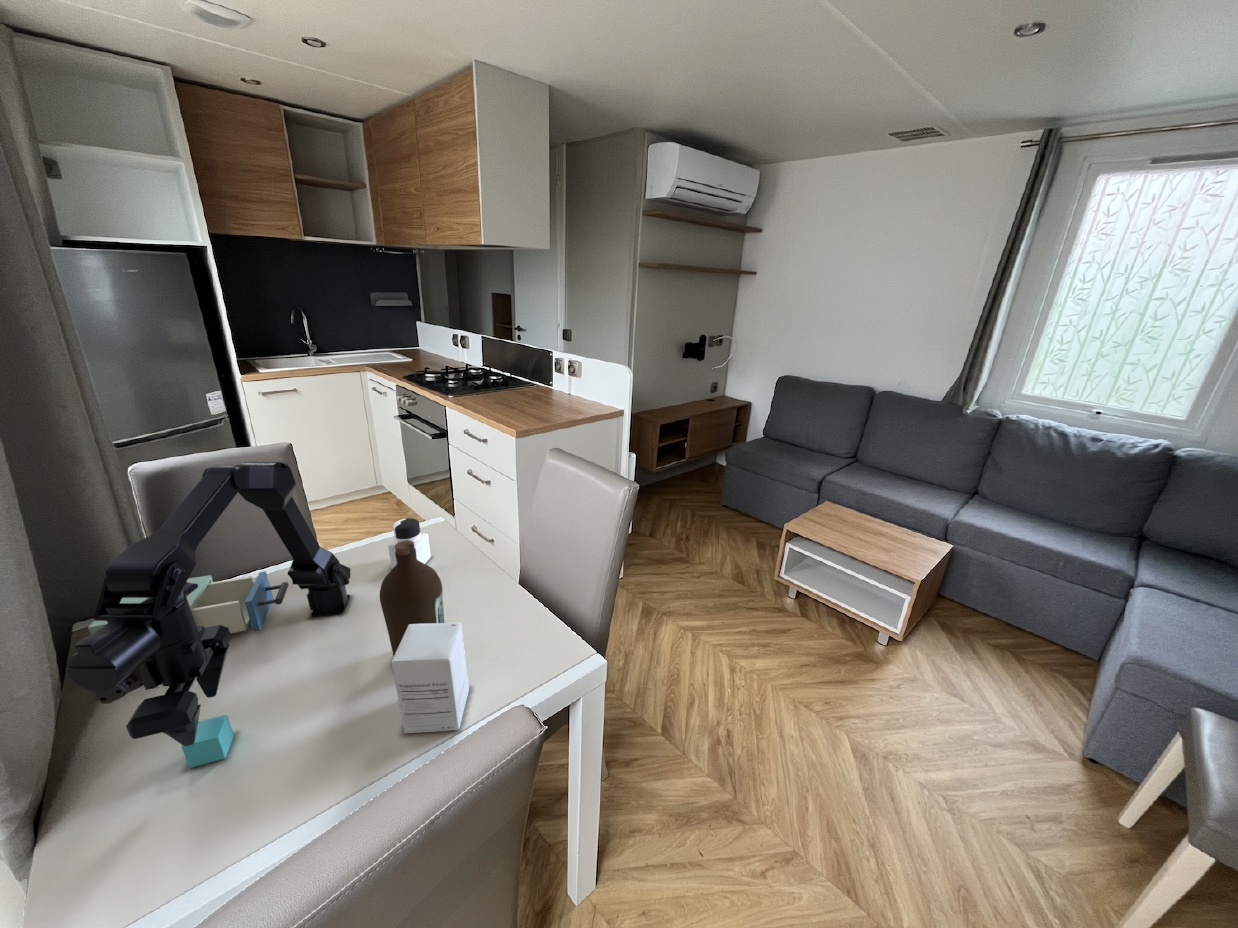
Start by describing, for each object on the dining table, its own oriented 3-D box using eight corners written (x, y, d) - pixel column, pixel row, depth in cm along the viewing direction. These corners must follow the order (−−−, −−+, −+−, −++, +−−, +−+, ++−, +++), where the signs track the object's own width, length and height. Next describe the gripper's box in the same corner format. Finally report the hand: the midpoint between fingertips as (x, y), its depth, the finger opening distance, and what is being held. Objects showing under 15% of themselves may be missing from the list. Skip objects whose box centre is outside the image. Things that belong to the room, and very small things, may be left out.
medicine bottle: (431, 557, 130) (426, 516, 126) (418, 572, 123) (412, 529, 119) (405, 555, 130) (399, 514, 126) (391, 569, 124) (384, 527, 120)
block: (234, 735, 79) (227, 714, 77) (225, 758, 75) (217, 737, 73) (200, 743, 77) (192, 722, 76) (189, 768, 73) (181, 746, 72)
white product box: (418, 690, 88) (408, 622, 83) (470, 688, 89) (462, 620, 83) (402, 734, 79) (389, 661, 74) (459, 731, 80) (450, 658, 75)
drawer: (295, 595, 112) (288, 567, 109) (284, 626, 102) (276, 596, 99) (199, 612, 106) (189, 583, 103) (177, 647, 96) (166, 616, 93)
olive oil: (389, 683, 89) (368, 564, 81) (393, 645, 99) (374, 534, 90) (451, 669, 93) (436, 554, 84) (449, 633, 102) (435, 526, 93)
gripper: (128, 607, 74) (160, 688, 79) (50, 701, 57) (97, 794, 63) (219, 592, 78) (243, 670, 83) (169, 676, 61) (204, 766, 67)
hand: (201, 719), depth 74 cm, fingers open, 9 cm apart
